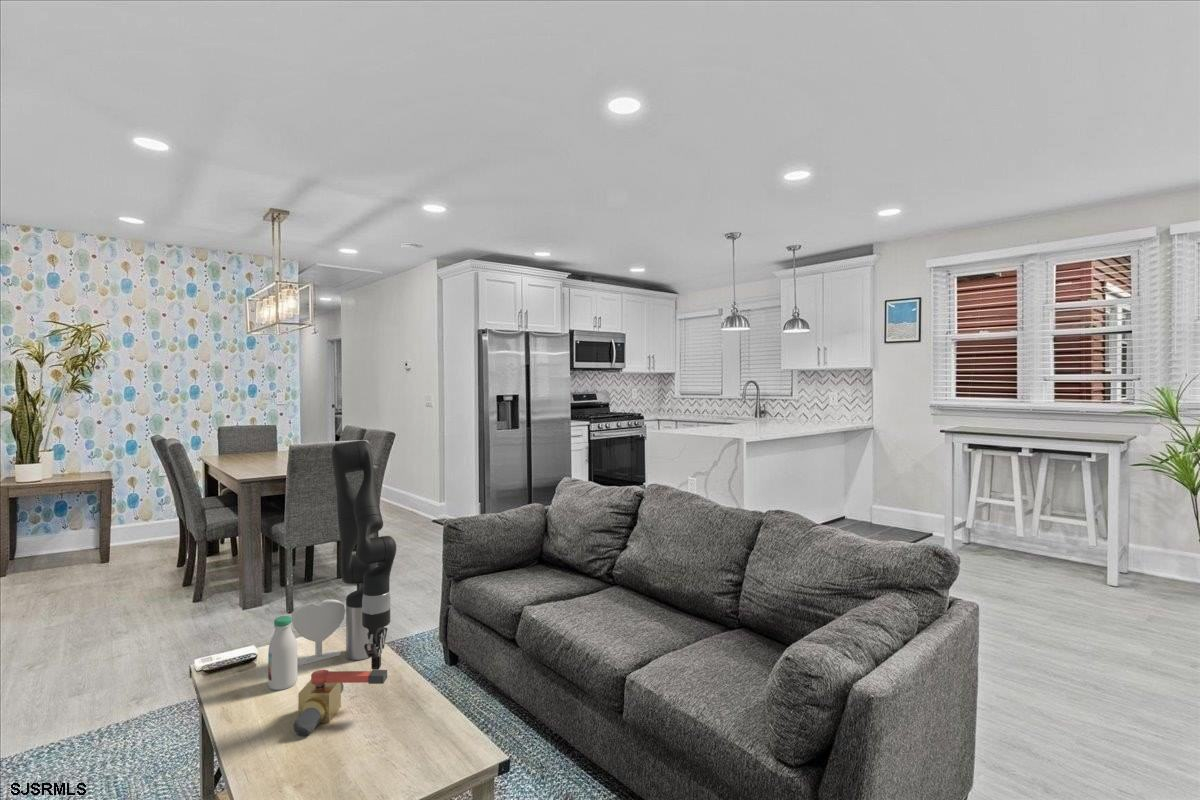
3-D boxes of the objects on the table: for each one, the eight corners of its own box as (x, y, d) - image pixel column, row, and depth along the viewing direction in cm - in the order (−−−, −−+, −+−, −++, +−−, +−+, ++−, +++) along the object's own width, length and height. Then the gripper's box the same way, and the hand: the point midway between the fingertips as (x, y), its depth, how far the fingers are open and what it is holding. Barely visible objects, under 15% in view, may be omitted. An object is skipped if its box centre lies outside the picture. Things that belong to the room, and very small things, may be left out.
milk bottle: (302, 678, 185) (302, 614, 184) (287, 691, 177) (287, 624, 177) (278, 677, 186) (278, 612, 185) (262, 690, 178) (262, 622, 177)
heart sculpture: (341, 648, 206) (341, 596, 206) (345, 653, 202) (345, 600, 202) (291, 660, 197) (291, 606, 196) (294, 666, 193) (294, 610, 192)
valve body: (320, 696, 175) (320, 665, 175) (348, 695, 175) (348, 665, 175) (287, 736, 155) (287, 701, 155) (319, 735, 155) (319, 701, 155)
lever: (308, 685, 163) (308, 677, 163) (315, 677, 167) (315, 669, 167) (382, 684, 163) (382, 676, 163) (387, 676, 168) (387, 668, 168)
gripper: (370, 599, 178) (370, 658, 178) (354, 616, 164) (354, 679, 165) (396, 599, 178) (396, 657, 178) (382, 616, 165) (382, 679, 165)
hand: (376, 668), depth 172 cm, fingers closed
